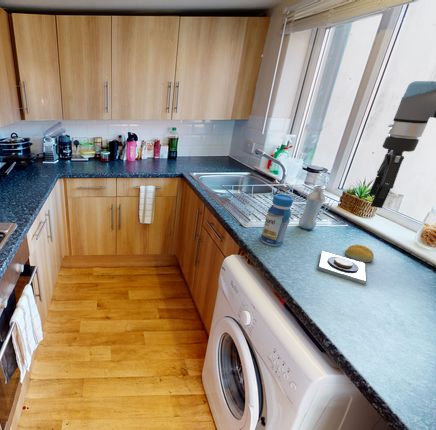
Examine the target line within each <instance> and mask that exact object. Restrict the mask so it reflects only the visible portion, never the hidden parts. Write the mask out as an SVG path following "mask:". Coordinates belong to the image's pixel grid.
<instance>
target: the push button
mask: <svg viewBox="0 0 436 430" xmlns="http://www.w3.org/2000/svg"><path fill="white" fill-rule="evenodd" d="M318 262H319V263H318V268H317V271H321V272H323V273H327V274H330V275H332V276H336V277H339V278H342V279H345V280H348V281H352V282H355V283H358V284H360V285H365V284H366V282H367V273H366V262H362V261H357V260H354V259H352V258H348V257H344V256H340V255H337V254H334V253H331V252H326V251H323V250H321V254H320V258H319V261H318Z"/></svg>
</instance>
